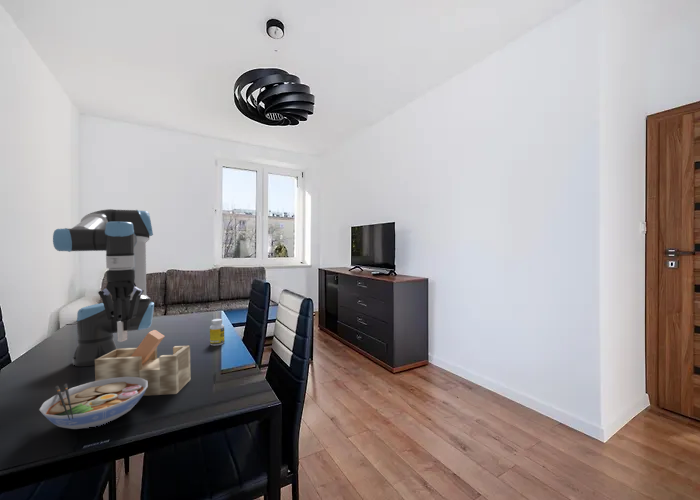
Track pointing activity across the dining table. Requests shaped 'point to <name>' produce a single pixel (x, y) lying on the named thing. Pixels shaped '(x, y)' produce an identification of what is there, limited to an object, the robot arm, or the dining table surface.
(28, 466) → the dining table surface
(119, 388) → the ramen bowl
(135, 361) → the box
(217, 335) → the pill bottle
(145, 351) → the tan block
